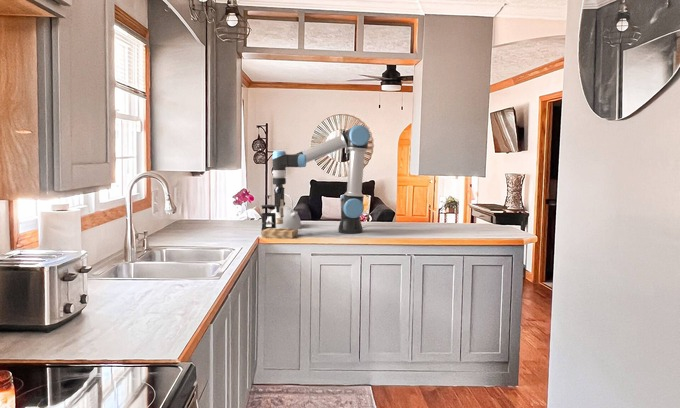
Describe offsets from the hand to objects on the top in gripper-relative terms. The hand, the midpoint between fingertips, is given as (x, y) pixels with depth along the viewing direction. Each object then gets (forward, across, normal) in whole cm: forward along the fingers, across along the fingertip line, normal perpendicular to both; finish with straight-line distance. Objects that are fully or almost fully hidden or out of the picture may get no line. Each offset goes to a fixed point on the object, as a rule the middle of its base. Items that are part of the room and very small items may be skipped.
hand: (279, 217), depth 327 cm
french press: (+11, -10, -10) cm, 18 cm away
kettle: (+12, -37, -7) cm, 39 cm away
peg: (+4, 0, 0) cm, 4 cm away
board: (+11, 0, 0) cm, 11 cm away
